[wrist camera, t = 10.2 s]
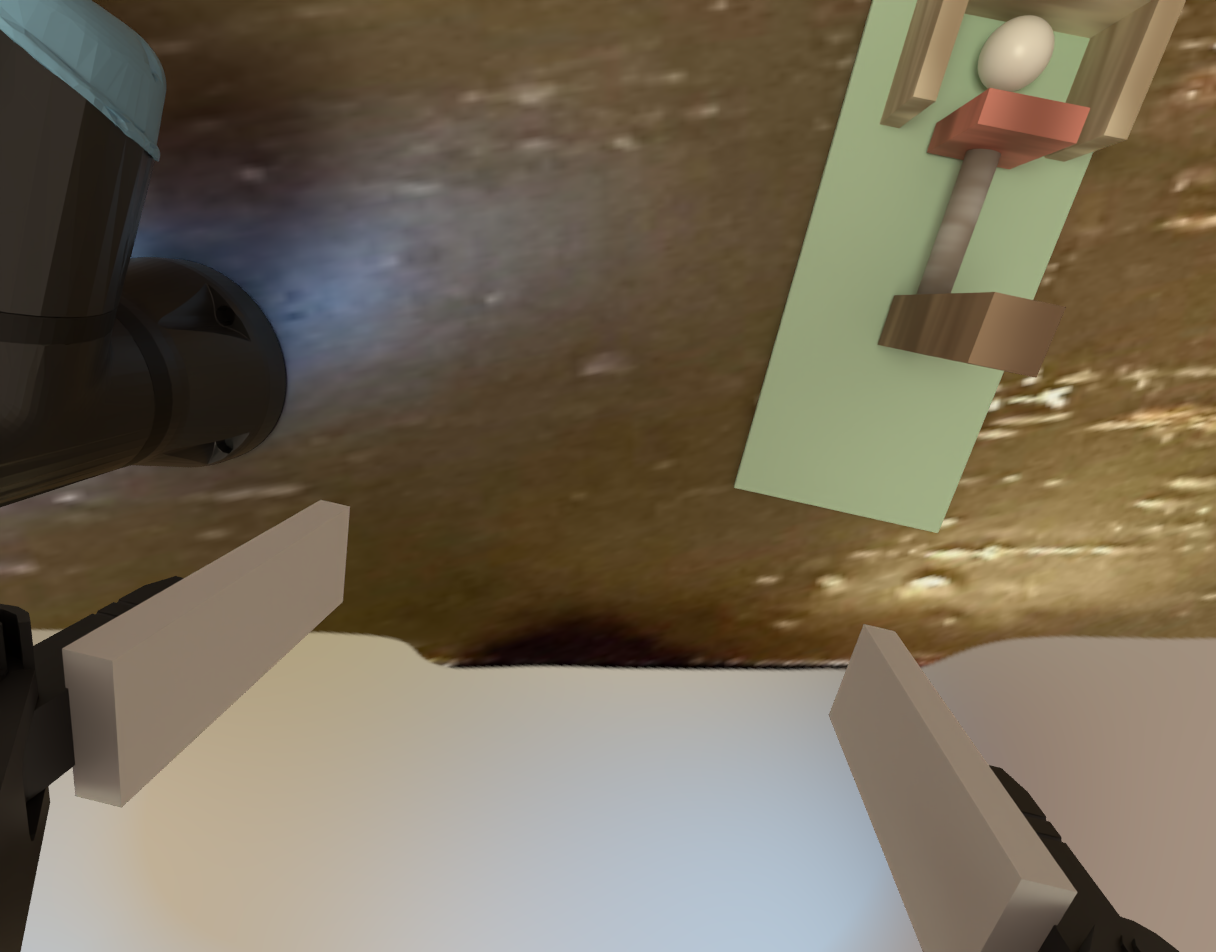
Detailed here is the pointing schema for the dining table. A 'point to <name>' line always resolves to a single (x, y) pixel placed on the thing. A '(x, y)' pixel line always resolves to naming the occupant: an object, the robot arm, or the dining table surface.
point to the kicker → (985, 320)
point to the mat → (897, 293)
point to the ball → (1016, 53)
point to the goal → (1072, 4)
